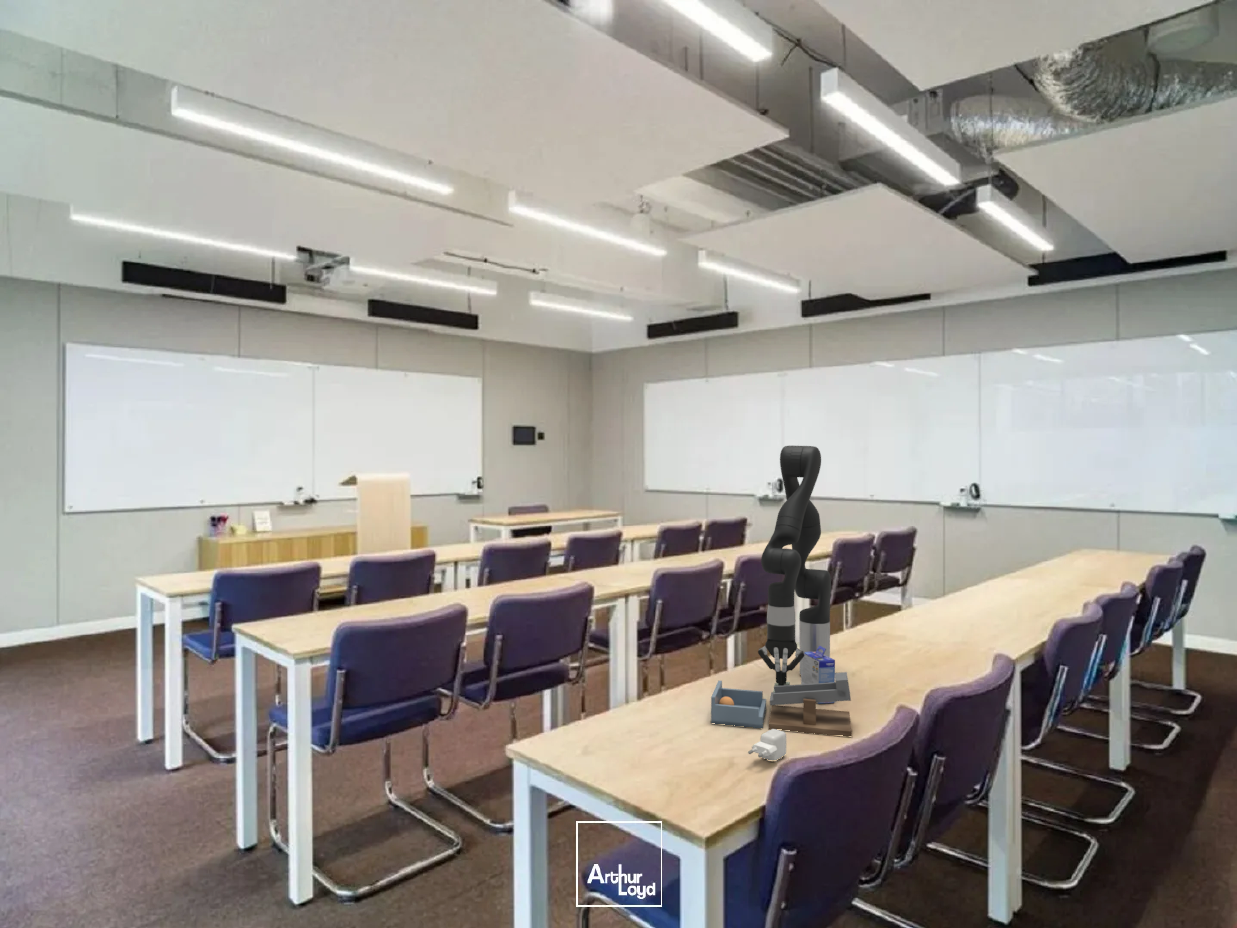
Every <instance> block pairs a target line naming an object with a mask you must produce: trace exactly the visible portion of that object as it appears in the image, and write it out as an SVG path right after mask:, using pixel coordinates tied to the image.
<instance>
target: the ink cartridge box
mask: <svg viewBox="0 0 1237 928" xmlns="http://www.w3.org/2000/svg"><path fill="white" fill-rule="evenodd" d="M819 649H822V650H823V653H821V652H819ZM825 651H826V649H825V648H823V647H821V646H819V647H818V649H817V651H816V652H804V653H805V654H804V657H803V659H802V672H801V677H800V678H801V679H800V682H801V683H800V684H814V683H829V682H835V673H836V659H835V658H832V657H831V656H830V657H828V656H826V655H824V653H825ZM817 704H818V705H820V704H821V705H823V704H835V702H818V703H816V705H817Z"/></svg>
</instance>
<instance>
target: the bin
mask: <svg viewBox="0 0 1237 928" xmlns="http://www.w3.org/2000/svg"><path fill="white" fill-rule="evenodd" d="M763 695H764V694H763V691H762V690H751V689H739V688H738V689H737V688H728V687H723V680H717V682H716V686H715V688H714V690H713V692H712V695H711V697H710V703H711V704H710V711H711V713H710V715H711V716H710V717H711V719H710V720H711V721H710V723H715V724H725V725H733V726H732V727H736V726H744V727H743V728H746V727H753V728H752V729H757V728H764V724H763V723H765V718H766V714H767V698H764V697H763ZM723 697H730V698H731V699H732V700H733V702H734V705H722V704H719V701H720V699H721V698H723ZM715 724H714V725H715ZM725 725H724V726H725ZM734 725H735V726H734Z"/></svg>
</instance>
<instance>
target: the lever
mask: <svg viewBox="0 0 1237 928" xmlns="http://www.w3.org/2000/svg"><path fill="white" fill-rule="evenodd" d="M803 699H815V700H816V704H817V703H818V702H834V703H835V702H849V701H852V699H851V690H850V684H849V678H848V672H847V671H844V672H842V671H841V672H835V682H829V683H814V684H801V683H800V684H791V683H790V681H787V682H786V684H784V685H783V686H780V685H778V683H776V682H774V685H773V690H772V691H771V693H770V696H769V705H770V706H772V705H780V706H785V705H796V704H797V705H798V704H803Z"/></svg>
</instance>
